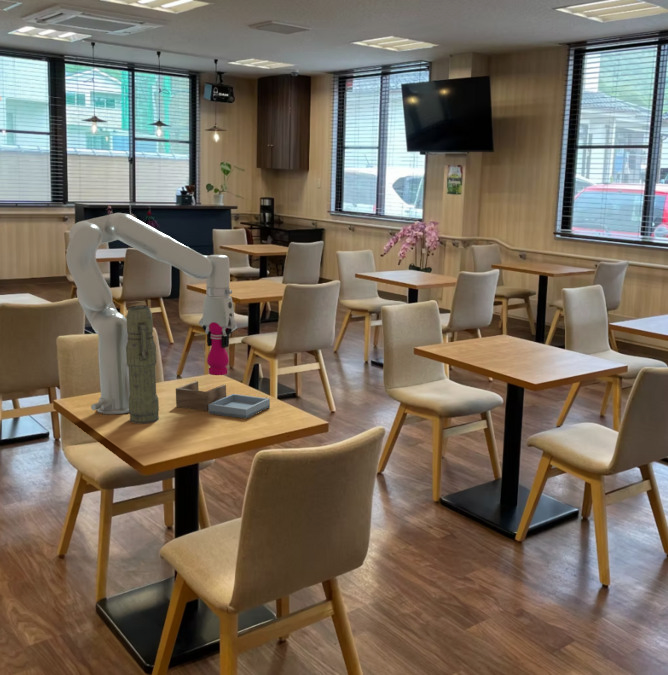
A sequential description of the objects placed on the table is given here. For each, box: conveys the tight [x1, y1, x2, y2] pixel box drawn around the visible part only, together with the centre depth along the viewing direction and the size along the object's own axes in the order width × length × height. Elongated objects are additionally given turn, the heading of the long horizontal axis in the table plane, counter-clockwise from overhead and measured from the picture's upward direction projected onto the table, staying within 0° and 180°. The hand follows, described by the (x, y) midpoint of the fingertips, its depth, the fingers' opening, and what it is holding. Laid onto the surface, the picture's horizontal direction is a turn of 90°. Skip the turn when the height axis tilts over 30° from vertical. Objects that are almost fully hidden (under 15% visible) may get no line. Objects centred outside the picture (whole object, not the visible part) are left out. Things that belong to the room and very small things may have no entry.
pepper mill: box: [206, 322, 230, 376], centre depth 269 cm, size 7×7×20 cm
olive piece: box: [126, 304, 160, 425], centre depth 243 cm, size 9×12×35 cm
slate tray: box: [208, 393, 271, 420], centre depth 256 cm, size 14×14×3 cm
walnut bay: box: [175, 380, 227, 412], centre depth 262 cm, size 11×12×6 cm
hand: (217, 345), depth 269 cm, fingers closed on pepper mill, 5 cm apart
